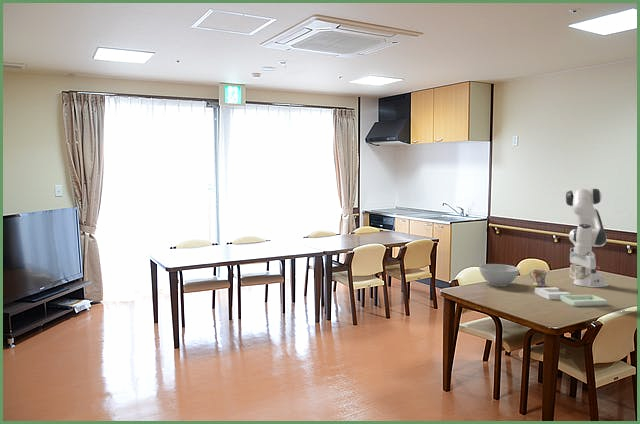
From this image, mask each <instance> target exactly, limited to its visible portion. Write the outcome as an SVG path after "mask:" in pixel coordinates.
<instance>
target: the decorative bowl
mask: <svg viewBox="0 0 640 424" xmlns="http://www.w3.org/2000/svg"><path fill="white" fill-rule="evenodd" d="M478 270H479V273H480V274H481V276H482V278H483V279H484V280H485V281H486V282H487V283H488V284H489V285H490V286H492V285H493V287H499V286H500V288H501V287H502V288H503V287H508V285H509V284H510V283H512V282H514V281H515V279H516V278H517V276H518V275H519V273H520V268H519V267H517V266H514V265H509V264H501V263H500V264H499V263H485V264H484V263H483V264H479V267H478Z"/></svg>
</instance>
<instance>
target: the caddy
mask: <svg viewBox="0 0 640 424" xmlns="http://www.w3.org/2000/svg"><path fill="white" fill-rule="evenodd" d="M585 270H586V269H585V267H583V266H579V265H575V264H570V266H569V278H570V279H573V280H583V279H591V274H593V273H596V271H597V269H596V268H595V269H590V270H589V272H588V275H585V274H584V272H585Z"/></svg>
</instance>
